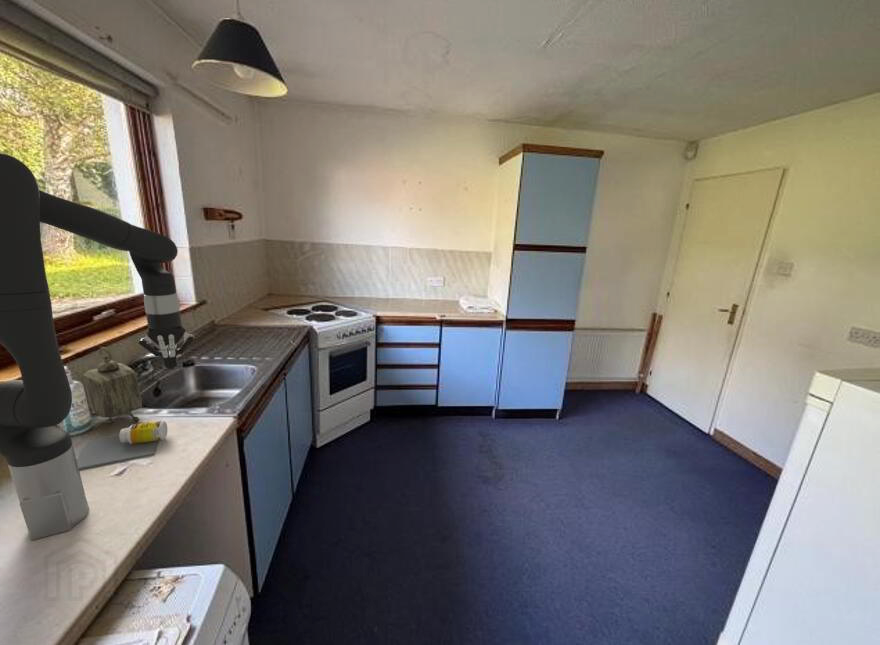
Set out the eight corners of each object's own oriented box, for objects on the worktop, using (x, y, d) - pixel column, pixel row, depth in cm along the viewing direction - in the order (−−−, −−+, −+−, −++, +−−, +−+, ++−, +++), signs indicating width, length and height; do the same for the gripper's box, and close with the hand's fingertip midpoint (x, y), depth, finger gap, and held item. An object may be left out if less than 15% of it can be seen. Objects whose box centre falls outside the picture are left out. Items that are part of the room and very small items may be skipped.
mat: (154, 454, 102) (153, 453, 102) (70, 471, 94) (69, 469, 94) (163, 429, 114) (163, 427, 114) (89, 441, 106) (89, 440, 106)
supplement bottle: (161, 422, 106) (117, 428, 102) (162, 441, 106) (118, 448, 102) (167, 418, 111) (125, 423, 107) (168, 436, 111) (126, 442, 107)
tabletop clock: (145, 421, 118) (132, 349, 111) (110, 434, 110) (93, 357, 103) (124, 408, 125) (110, 339, 118) (90, 419, 117) (73, 346, 110)
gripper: (128, 314, 93) (139, 376, 98) (190, 311, 99) (198, 370, 104) (135, 308, 99) (145, 366, 104) (193, 305, 105) (200, 360, 110)
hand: (172, 368), depth 104 cm, fingers closed
